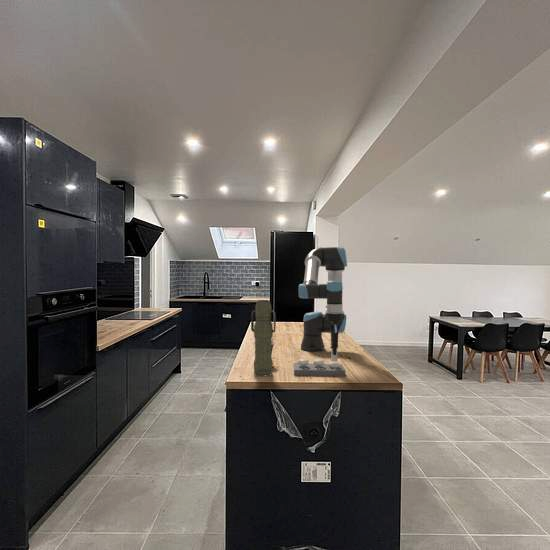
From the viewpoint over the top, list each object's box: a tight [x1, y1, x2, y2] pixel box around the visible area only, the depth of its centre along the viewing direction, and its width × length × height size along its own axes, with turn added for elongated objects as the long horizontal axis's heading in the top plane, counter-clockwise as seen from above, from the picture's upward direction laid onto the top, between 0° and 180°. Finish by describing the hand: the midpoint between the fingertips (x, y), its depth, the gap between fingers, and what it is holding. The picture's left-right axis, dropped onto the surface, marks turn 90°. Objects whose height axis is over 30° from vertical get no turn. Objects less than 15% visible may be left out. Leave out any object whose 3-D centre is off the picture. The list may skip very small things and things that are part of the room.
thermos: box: [250, 299, 277, 376], centre depth 171 cm, size 9×12×35 cm
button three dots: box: [313, 358, 325, 368], centre depth 174 cm, size 5×5×4 cm
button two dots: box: [297, 358, 309, 368], centre depth 175 cm, size 5×5×4 cm
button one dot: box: [328, 361, 340, 368], centre depth 174 cm, size 5×5×4 cm
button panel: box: [293, 363, 346, 377], centre depth 174 cm, size 12×24×3 cm, turn 87°
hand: (334, 361), depth 174 cm, fingers closed
